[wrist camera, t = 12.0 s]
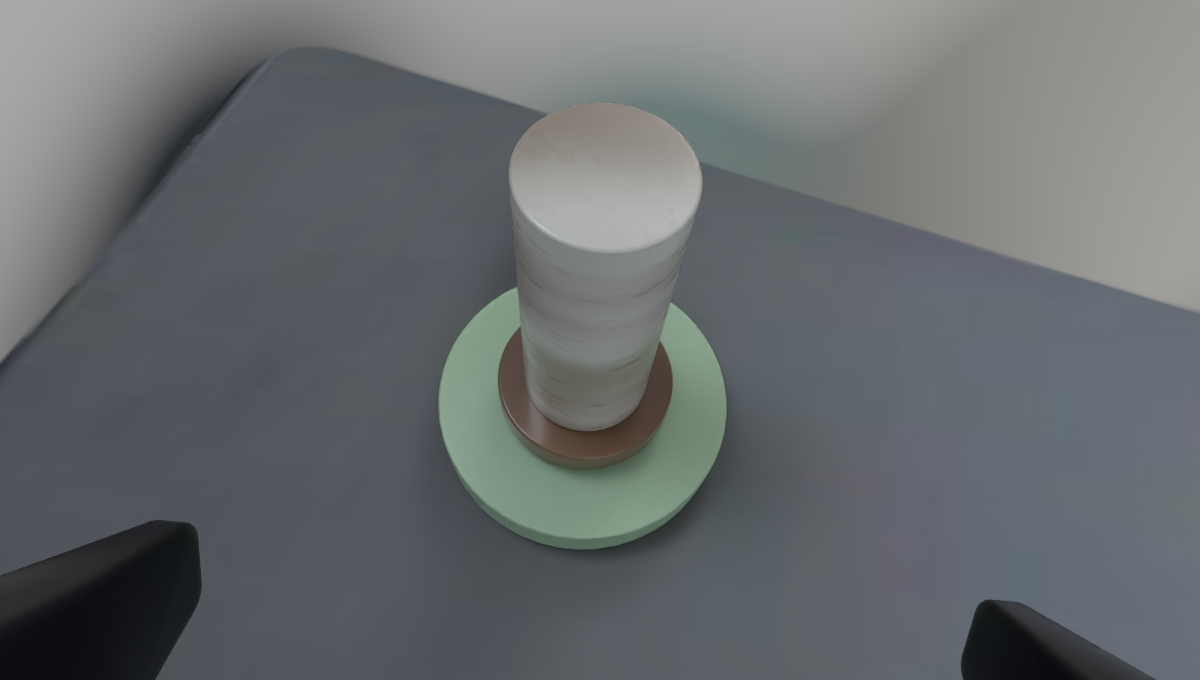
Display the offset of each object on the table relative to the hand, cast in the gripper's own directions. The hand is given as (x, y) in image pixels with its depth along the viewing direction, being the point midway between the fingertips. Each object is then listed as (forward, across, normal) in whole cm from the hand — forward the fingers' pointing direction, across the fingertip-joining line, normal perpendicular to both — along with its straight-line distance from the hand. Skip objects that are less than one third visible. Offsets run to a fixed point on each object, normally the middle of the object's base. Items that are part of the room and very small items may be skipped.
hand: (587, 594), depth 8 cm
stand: (+15, 0, +4) cm, 15 cm away
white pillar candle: (+15, +1, 0) cm, 15 cm away
